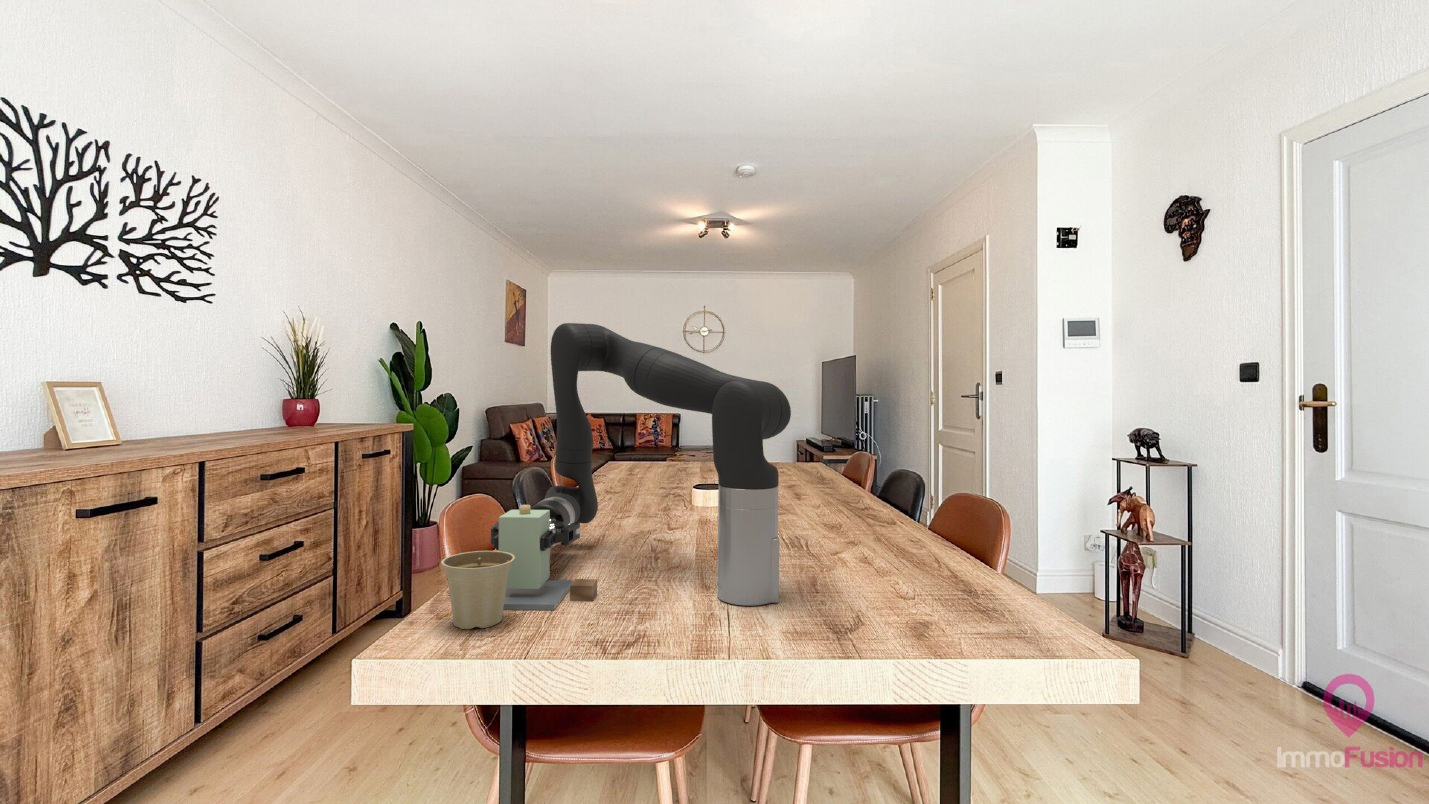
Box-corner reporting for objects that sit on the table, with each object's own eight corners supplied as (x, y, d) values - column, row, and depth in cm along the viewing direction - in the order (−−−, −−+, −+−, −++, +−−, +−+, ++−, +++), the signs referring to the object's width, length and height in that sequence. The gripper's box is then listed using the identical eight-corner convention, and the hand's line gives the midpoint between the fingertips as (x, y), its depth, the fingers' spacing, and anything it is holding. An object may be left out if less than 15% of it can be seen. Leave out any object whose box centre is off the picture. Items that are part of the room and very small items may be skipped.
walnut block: (596, 595, 101) (597, 579, 101) (592, 602, 98) (592, 585, 98) (575, 595, 101) (575, 579, 101) (569, 602, 98) (570, 585, 98)
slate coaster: (572, 585, 105) (572, 580, 105) (554, 610, 93) (554, 604, 93) (498, 584, 105) (498, 579, 105) (470, 609, 93) (470, 603, 93)
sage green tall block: (549, 577, 102) (549, 502, 102) (539, 588, 96) (539, 509, 96) (511, 576, 102) (511, 502, 102) (498, 588, 96) (498, 509, 96)
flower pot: (525, 611, 93) (525, 551, 92) (497, 636, 83) (497, 569, 83) (462, 609, 94) (462, 549, 93) (427, 633, 84) (427, 566, 84)
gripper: (508, 499, 114) (471, 518, 97) (590, 500, 113) (568, 519, 97) (508, 542, 114) (471, 568, 97) (590, 542, 114) (568, 569, 97)
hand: (520, 543), depth 97 cm, fingers closed on sage green tall block, 6 cm apart
